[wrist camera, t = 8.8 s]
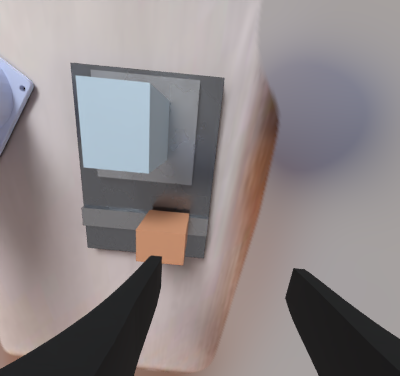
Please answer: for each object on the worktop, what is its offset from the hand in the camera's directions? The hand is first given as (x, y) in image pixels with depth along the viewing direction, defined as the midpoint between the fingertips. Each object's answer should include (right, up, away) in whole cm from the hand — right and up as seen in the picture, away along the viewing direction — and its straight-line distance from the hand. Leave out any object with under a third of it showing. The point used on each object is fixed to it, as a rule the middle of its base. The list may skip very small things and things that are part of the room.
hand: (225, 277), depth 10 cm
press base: (-7, +7, +9) cm, 13 cm away
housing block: (-6, +10, +6) cm, 13 cm away
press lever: (-5, +1, +9) cm, 10 cm away
